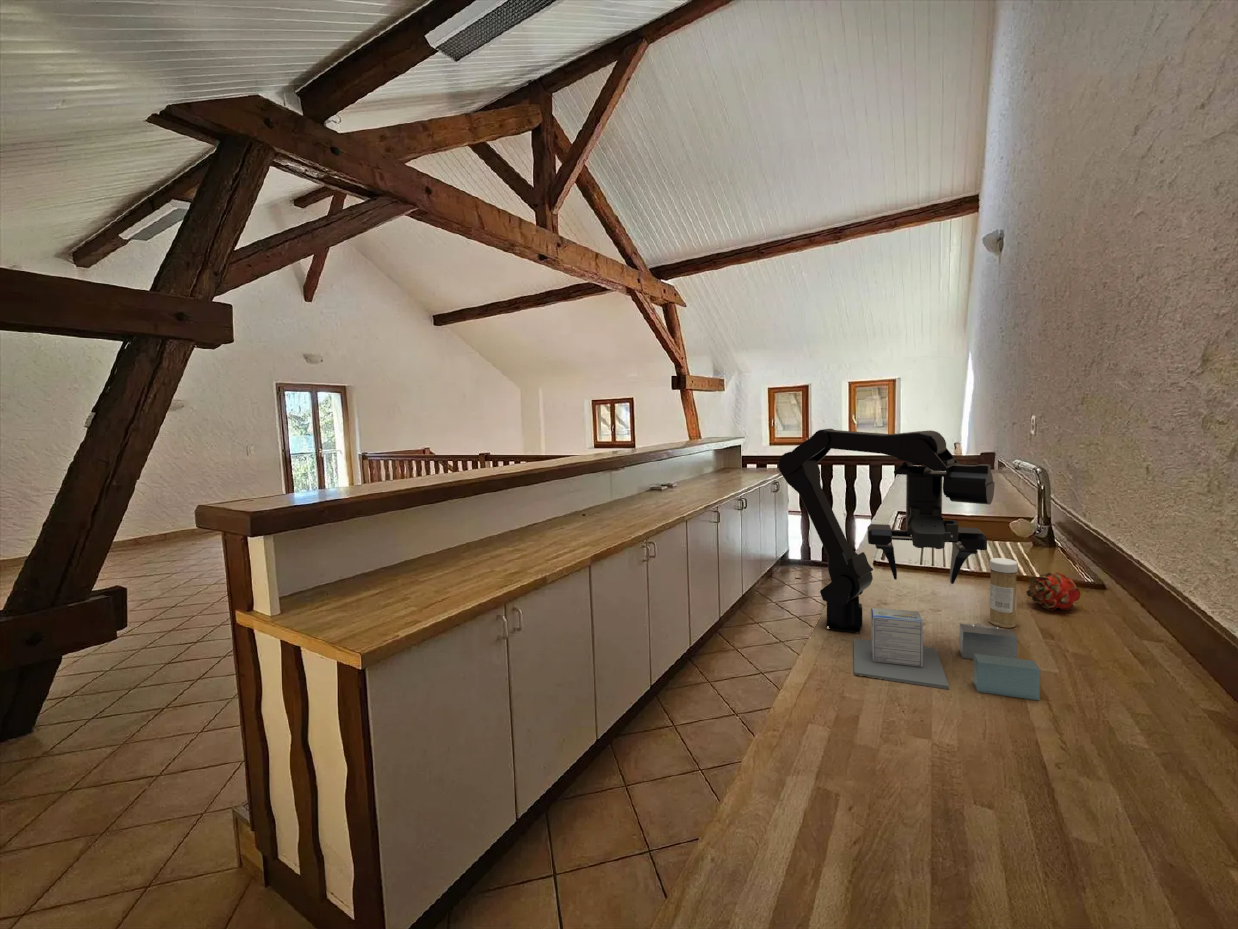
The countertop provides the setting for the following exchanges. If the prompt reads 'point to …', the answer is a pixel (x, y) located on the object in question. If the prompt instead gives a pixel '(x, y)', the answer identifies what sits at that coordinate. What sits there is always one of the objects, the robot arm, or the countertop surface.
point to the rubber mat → (900, 667)
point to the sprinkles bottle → (1003, 592)
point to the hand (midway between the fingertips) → (923, 581)
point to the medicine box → (897, 637)
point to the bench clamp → (998, 662)
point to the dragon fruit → (1053, 591)
